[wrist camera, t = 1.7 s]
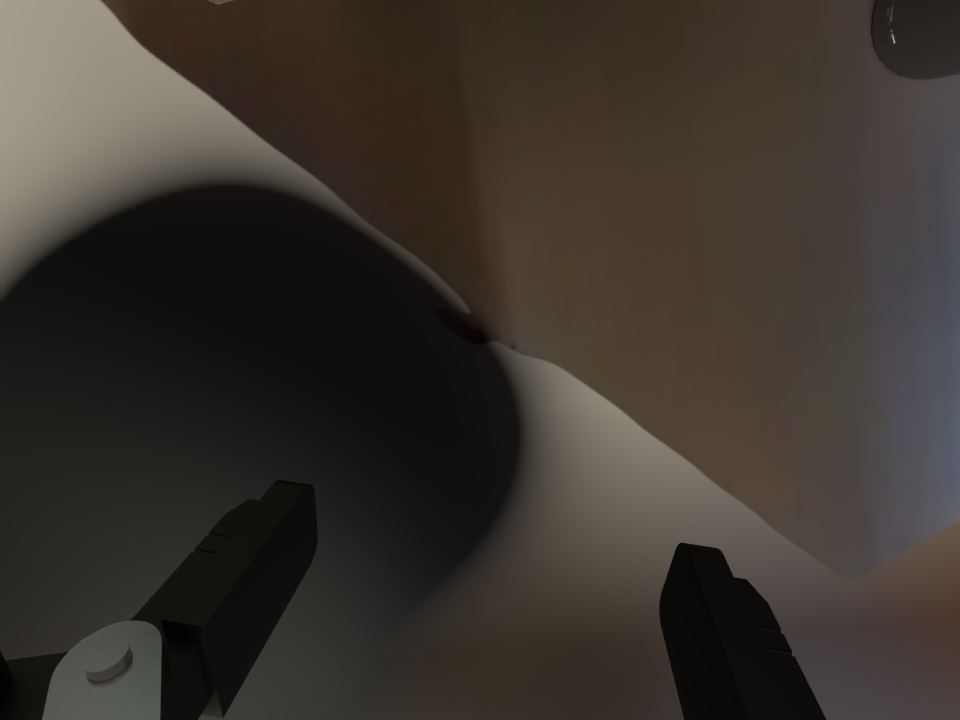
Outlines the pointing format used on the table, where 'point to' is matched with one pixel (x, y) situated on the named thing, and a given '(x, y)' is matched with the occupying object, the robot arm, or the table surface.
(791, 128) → the table surface
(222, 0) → the slat
